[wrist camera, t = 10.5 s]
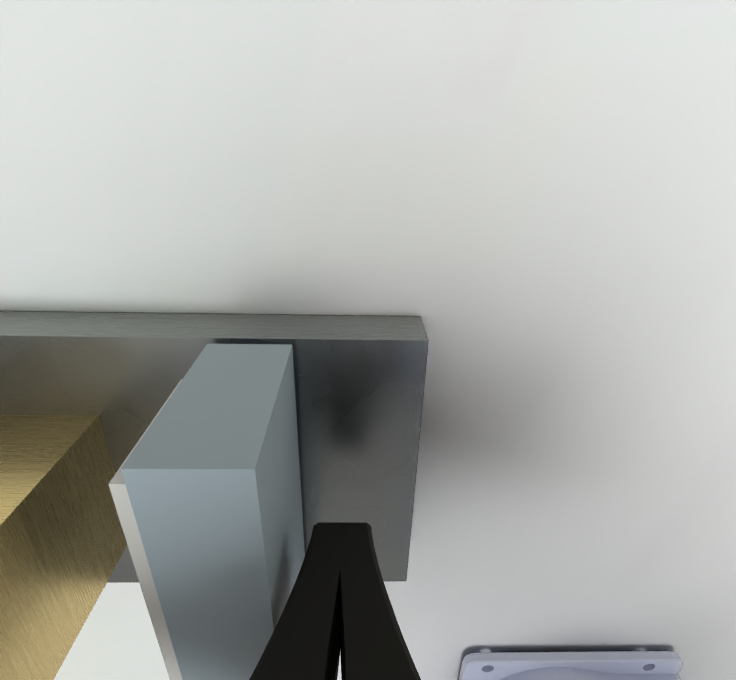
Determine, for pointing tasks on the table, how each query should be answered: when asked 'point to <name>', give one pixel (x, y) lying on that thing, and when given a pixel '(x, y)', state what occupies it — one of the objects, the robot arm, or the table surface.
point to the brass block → (52, 537)
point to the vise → (312, 392)
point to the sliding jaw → (217, 510)
